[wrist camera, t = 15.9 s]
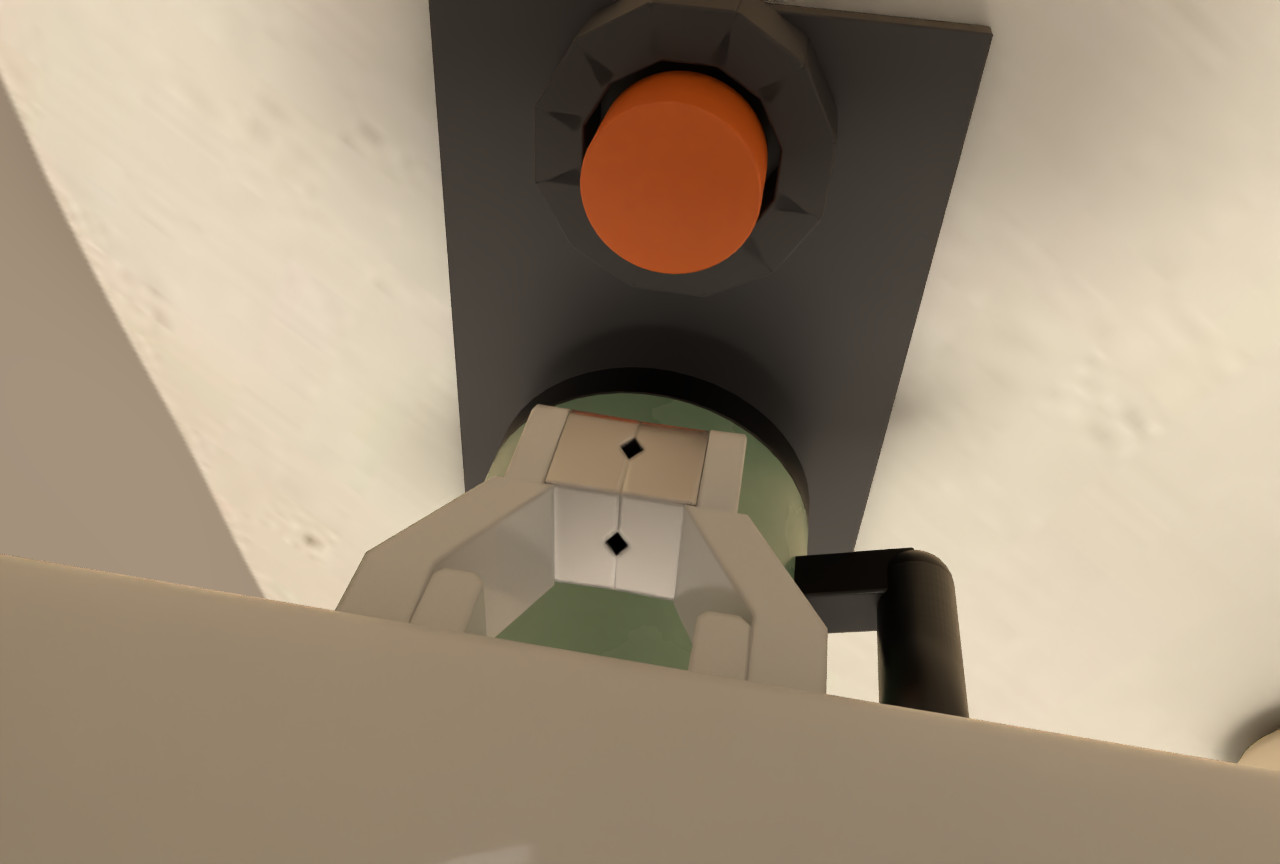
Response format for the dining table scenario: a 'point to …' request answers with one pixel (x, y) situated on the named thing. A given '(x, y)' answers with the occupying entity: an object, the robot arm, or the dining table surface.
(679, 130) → the power button
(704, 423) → the kettle
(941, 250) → the dining table surface
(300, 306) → the dining table surface
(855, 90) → the button base
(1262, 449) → the dining table surface
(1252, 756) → the silver tall bottle
